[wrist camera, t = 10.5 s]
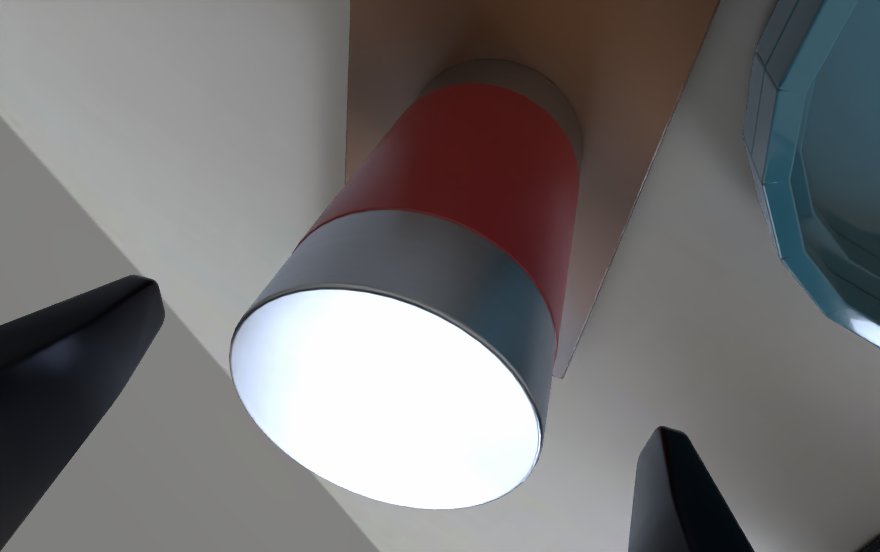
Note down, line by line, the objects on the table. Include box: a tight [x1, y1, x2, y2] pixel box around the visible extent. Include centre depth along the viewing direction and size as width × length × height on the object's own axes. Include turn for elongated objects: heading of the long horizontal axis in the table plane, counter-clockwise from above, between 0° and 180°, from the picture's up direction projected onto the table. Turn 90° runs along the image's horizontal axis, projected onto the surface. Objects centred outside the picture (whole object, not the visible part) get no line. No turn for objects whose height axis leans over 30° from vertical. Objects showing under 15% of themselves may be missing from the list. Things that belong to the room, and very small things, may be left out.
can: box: [229, 59, 583, 510], centre depth 13 cm, size 5×5×10 cm
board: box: [345, 0, 720, 378], centre depth 17 cm, size 17×9×1 cm, turn 172°
